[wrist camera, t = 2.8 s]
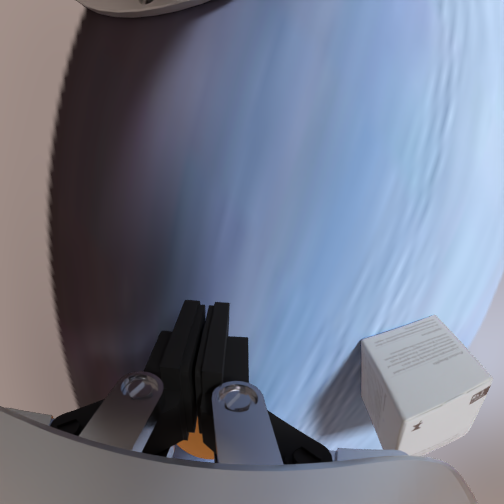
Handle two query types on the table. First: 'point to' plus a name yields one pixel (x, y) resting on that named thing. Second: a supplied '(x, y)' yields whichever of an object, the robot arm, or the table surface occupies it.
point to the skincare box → (421, 386)
